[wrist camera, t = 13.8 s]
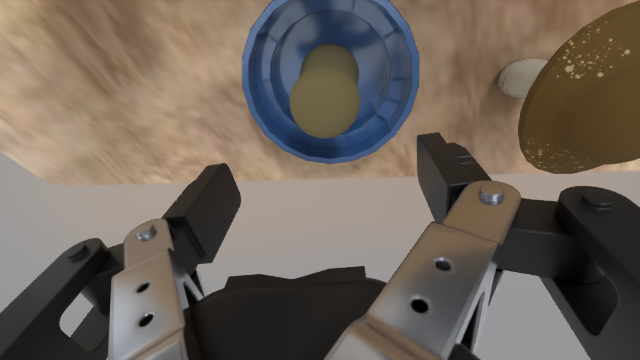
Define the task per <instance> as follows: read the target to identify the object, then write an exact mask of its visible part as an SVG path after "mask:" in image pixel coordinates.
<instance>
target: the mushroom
mask: <svg viewBox="0 0 640 360" xmlns="http://www.w3.org/2000/svg"><path fill="white" fill-rule="evenodd" d="M498 84H499V89H500V90H501V91H502V92H503V93H504V94H506V95H509V96H511V97H514V98H517V99H525V101H524V104H523V107H522V109H521V112H520V119H519V125H518V136H519V143H520V149H521V151H522V153H523V154H524V156H525V158H526V160H527V161H528V162H529V163H530V164H532V165H533V166H534V167H536V168H537V169H540V170H543V171H546V172H550V173H554V174H573V173H577V172H581V171H585V170H590V169H593V168H596V167H599V166H601V165H604V164H617V163H622V162H628V161H632V160H636V159H638V158H640V1H636V2H633V3H630V4H628V5H625V6H622V7H619V8H616V9H614V10H611V11H609V12H607V13H606V14H604V15H603V16H601V17H599V18H598V19H596V20H594V21H593V22H591V23H590V24H588V25H586V26H585V27H583V28H582V29H581V30H579V31H578V32H577V33H576V34H575V35H574V36H573V37H571V38H570V39H569V40H568V41H567V42H566V43H564V44H563V45H562V46H561V47H560V48H559V49H558V50H557V51H556V53H555V54H554V55H553V56H552V57H551V59H550V60H549V61H546V60H543V59H533V58H524V59H519V60H516V61H514V62H512V63H511V64H509V65H508V66H506V67H505V68H504V70H503V71H502V72H501V74H500V76H499V79H498Z"/></svg>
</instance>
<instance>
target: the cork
mask: <svg viewBox="0 0 640 360" xmlns="http://www.w3.org/2000/svg"><path fill="white" fill-rule="evenodd" d="M358 81H359V69H358V65H357V61H356V60H355V58H354V56H353V55H352V53H351V52H349V51H348V50H347V49H346V48H344V47H342V46H340V45H337V44H323V45H320V46H317V47H315V48H314V49H312V50H311V51H310V52H309V53H308V54H307V55H306V57H305V59H304V60H303V62H302V66H301V69H300V76H299V78H298V79H297V81H296V82H295V84H294V85H293V87H292V90H291V94H290V98H289V99H290V110H291V113H292V116H293V118H294V121H295V122H296V123H297V125H298V126H299V127H300V128H301V129H302V130H303V131H305V132H306V133H307V134H309V135H312V136H315V137H318V138H332V137H335V136H339V135H340V134H342V133H344V132H345V131H347V130H348V129H349V128H350V126H351V125H352V124H353V123H354V122H355V120H356V118H357V115H358V113H359V110H360V96H359V92H358V88H357V84H358Z"/></svg>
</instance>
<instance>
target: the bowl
mask: <svg viewBox="0 0 640 360" xmlns="http://www.w3.org/2000/svg"><path fill="white" fill-rule="evenodd" d="M323 44H337V45H340V46H342V47H344V48H346V49H347V50H348V51H349V52H351V53H352V55H353V56H354V58H355V60H356V61H357V65H358V69H359V81H358V84H357V88H358V92H359V96H360V110H359V113H358V115H357V118H356V120H355V122H354V123H353V124H352V125H351V126H350V128H349V129H348V130H347V131H345V132H344V133H342V134H340V135H339V136H335V137H332V138H318V137H315V136H312V135H309V134H307V133H306V132H305V131H303V130H302V129H301V128H300V127H299V126H298V125H297V123H296V122H295V121H294V118H293V116H292V113H291V110H290V99H289V98H290V94H291V90H292V87H293V85H294V84H295V82H296V81H297V79H298V78H299V76H300V69H301V66H302V62H303V60H304V59H305V57H306V55H307V54H308V53H309V52H310V51H311V50H312V49H314V48H315V47H317V46H320V45H323ZM242 87H243V91H244V94H245V97H246V100H247V103H248V107H249V110H250V113H251V115H252V116H253V118H254V119H255V120H256V122H257V123H258V125H259V126H260V128H261V129H262V131H263V132H264V134H265V135H266V136H267V137H268V138H270V139H271V140H272V141H273V142H274V143H276V144H277V145H278V146H279V147H280V148H282V149H283V150H284V151H286V152H288V153H290V154H293V155H295V156H297V157H299V158H301V159H304V160H306V161H312V162H319V163H326V164H333V163H341V162H349V161H354V160H356V159H359V158H361V157H363V156H366V155H368V154H370V153H373V152H375V151H377V150H378V149H379V148H380V147H381V146H383V145H384V144H385V143H386V142H387V141H389V140H390V139H391V138H392V137H394V136H395V135H396V133H397V132H398V130H399V129H400V127H401V126H402V124H403V123H404V122H405V120H406V119H407V117H408V116H409V114H410V112H411V110H412V106H413V103H414V100H415V97H416V94H417V90H418V87H419V53H418V51H417V48H416V45H415V42H414V39H413V36H412V33H411V30H410V27H409V25H408V23H407V22H406V21H405V20H404V18H403V17H402V16H401V14H400V13H399V12H398V11H397V9H396V8H395V7H394V6H393V4H392V3H391V2H390V1H389V0H273V1H272V2H270V3H269V4H268V6H267V7H266V8H265V10H264V11H263V13H262V14H261V15H260V17H259V18H258V20H257V21H256V22H255V24H254V25H253V27H252V28H251V30H250V33H249V36H248V39H247V43H246V46H245V50H244V53H243V56H242Z"/></svg>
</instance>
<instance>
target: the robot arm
mask: <svg viewBox="0 0 640 360" xmlns="http://www.w3.org/2000/svg"><path fill="white" fill-rule="evenodd" d="M417 173H418V179H419V184H420V187H421V189H422V191H423V194H424V196H425V198H426V201H427V203H428V206H429V208H430V210H431V213H432V215H433V217H434V220H435V222H434V221H433V222H431V223H430V224H429V225H428V226H427V228H426V229H425V231H424V232H423V234H422V235H421V236H420V238H419V239H418V240H417V242H416V243H415V245H414V246H413V248H412V249H411V250H410V252H409V253H408V255H407V256H406V257H405V259H404V260H403V262H402V263H401V265H400V266H399V267H398V269H397V270H396V272H395V273H394V275H393V276H392V277H391V279H390V280H389V282H388V283H386V282H383V281H380V280H377V279H373V278H367V277H366V273H365V267H364V266H359V267H347V268H334V269H327V270H323V271H320V272H317V273H313V274H310V275H307V276H303V277H300V278H296V279H286V278H280V277H274V276H268V275H262V274H256V275H243V276H230V277H229V278H228V280H227V283H226V285H225V288H223V289H221V290H218V291H216V292H213V293H211V294H209V295H207V294H206V291H205V288H204V285H203V282H202V279H201V276H200V274H199V272H198V271H197V269H196V267H197V265H198V264H205V263H212V262H213V260H214V258H215V255H216V254H217V252H218V250H219V247H220V246H221V244H222V241H223V240H224V237H225V235H226V233H227V231H228V229H229V227H230V225H231V223H232V221H233V219H234V217H235V215H236V213H237V211H238V208H239V207H240V204H241V196H240V192H239V190H238V187H237V185H236V183H235V180H234V178H233V176H232V173H231V171H230V169H229V167H228V165H227V164H225V163H222V164H216V165H209V166H207V167H206V168H205V169H204V170H203V171H202V173H201V174H200V175H199V176H198V178H197V179H196V180H195V181H193V182H192V183H191V184H189V185H188V186H187V187H186V189H185V190H184V191H183V192H182V194H181V195H180V196H179V197H178V199H177V201H175V202H174V203H173V204H172V206H171V207H170V208H169V209H168V211H167V212H166V213H165V214H164V215H163V217H162V218H161V219H153V220H150V221H147V222H145V223H143V224H141V225H139V226H137V227H136V228H134V229H133V230H132V231H131V232H130V233H129V234H128V235H127V236H126V238H125V240H124V243H122V244H119V245H116V246H112V247H110V248H107V247H106V246H105V244H104V243H103V242H102V241H101V240H100V239H98V238H92V239H88V240H85V241H82V242H80V243H78V244H76V245H74V246H73V247H71V248H69V249H68V250H66V251H65V252H64V253H63V254H61V255H60V256H59V257H58V258H57V259H56V260H55V261H54V262H53V263H52V264H51V265H50V266H49V267H48V268H47V269H46V270H45V271H44V272H43V273H42V274H40V275H39V276H38V277H37V278H36V279H35V280H34V281H33V282H32V283H31V284H30V285H29V286H28V287H27V288H26V289H25V290H24V291H23V292H22V293H21V294H20V295H19V296H18V297H17V298H16V299H15V300H13V301H12V302H11V303H10V304H9V305H8V306H7V307H6V308H5V309H4V310H3V311H2V312H1V313H0V360H106V359H107V357H108V360H480V359H479V358H478V357H477V356H476V355H474V354H475V352H476V349H477V346H478V343H479V341H480V337H481V334H482V331H483V327H484V324H485V321H486V318H487V315H488V313H489V310H490V307H491V305H492V302H493V300H494V297H495V294H496V292H497V289H498V287H499V284H500V282H501V279H502V276H503V274H504V271H505V270H508V271H513V272H518V273H524V274H530V275H536V276H539V277H540V279H541V281H542V282H543V284H544V285H545V287H546V289H547V290H548V292H549V293H550V295H551V297H552V298H553V300H554V301H555V303H556V305H557V306H558V308H559V309H560V311H561V312H562V314H563V316H564V317H565V319H566V320H567V322H568V323H569V325H570V327H571V329H572V330H573V331H574V333H575V335H576V337H577V338H578V340H579V341H580V343H581V344H582V346H583V348H584V349H585V351H586V352H587V354H588V356H589V357H590V359H591V360H640V207H638V206H637V205H636V204H634V203H633V202H632V201H631V200H629V199H628V198H626V197H625V196H623V195H621V194H618V193H616V192H613V191H610V190H607V189H603V188H598V187H591V186H575V187H570V188H567V189H565V190H563V191H562V192H561V193H560V196H559V199H558V202H557V201H556V202H555V201H543V200H531V199H525V198H521V195H520V193H519V192H518V190H516V189H515V188H514V187H512V186H510V185H508V184H505V183H502V182H498V181H492V180H491V179H490V177H489V176H488V175H487V174H486V172H485V171H484V170H483V169H482V167H481V166H480V165H479V164H478V163H476V160H475V159H474V158H473V157H471V154H470V153H469V152H468V151H467V149H466V148H464V147H462V146H460V145H458V144H456V143H448V144H447V143H446V142H445V140H444V139H443V138H442V136H441V135H440V133H438V132H437V133H430V134H423V135H418V137H417ZM79 293H81V294H82V295H83V296H84V297H85V298H86V299H87V300H88V301H90V303H92V305H93V306H94V307H93V308H92V309H91V311H90V312H89V313H88V314H87V316H86V317H85V318H84V320H83V321H82V322H81V324H80V325H79V326H78V328H77V329H76V330H75V332H74V333H73V334H72V335H71V337H68V336H67V335H66V334H65V333H64V332H63V331H62V330H61V329H60V325H59V321H60V318H61V316H62V314H63V312H64V311H65V310H66V308H67V307H68V306H69V305H70V304H71V303H72V302H73V300H74V299H75V298H76V297H77V296H78V294H79Z"/></svg>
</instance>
